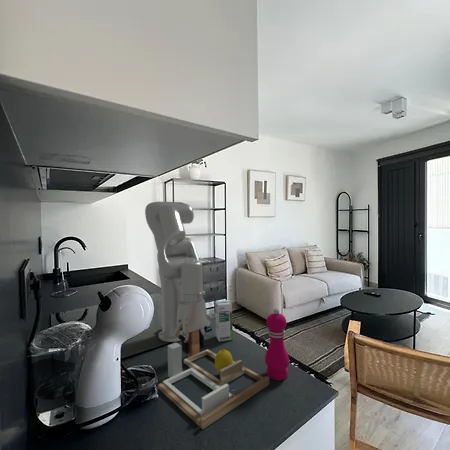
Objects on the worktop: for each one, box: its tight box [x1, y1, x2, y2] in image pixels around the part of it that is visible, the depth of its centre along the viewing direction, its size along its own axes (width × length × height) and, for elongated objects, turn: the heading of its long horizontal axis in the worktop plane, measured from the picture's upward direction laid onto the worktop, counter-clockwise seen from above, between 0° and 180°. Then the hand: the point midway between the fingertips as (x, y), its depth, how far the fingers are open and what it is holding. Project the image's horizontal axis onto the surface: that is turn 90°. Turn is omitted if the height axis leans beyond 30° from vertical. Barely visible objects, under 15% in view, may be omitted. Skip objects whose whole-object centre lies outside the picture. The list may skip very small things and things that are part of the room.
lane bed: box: [157, 360, 270, 430], centre depth 75 cm, size 20×24×2 cm
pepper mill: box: [264, 308, 290, 381], centre depth 80 cm, size 7×7×20 cm
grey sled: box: [162, 342, 232, 418], centre depth 73 cm, size 21×10×9 cm, turn 42°
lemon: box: [214, 348, 234, 375], centre depth 80 cm, size 6×6×8 cm
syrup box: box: [214, 299, 234, 343], centre depth 106 cm, size 6×6×14 cm
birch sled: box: [183, 330, 245, 386], centre depth 85 cm, size 21×10×9 cm, turn 42°
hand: (193, 348), depth 92 cm, fingers open, 5 cm apart
